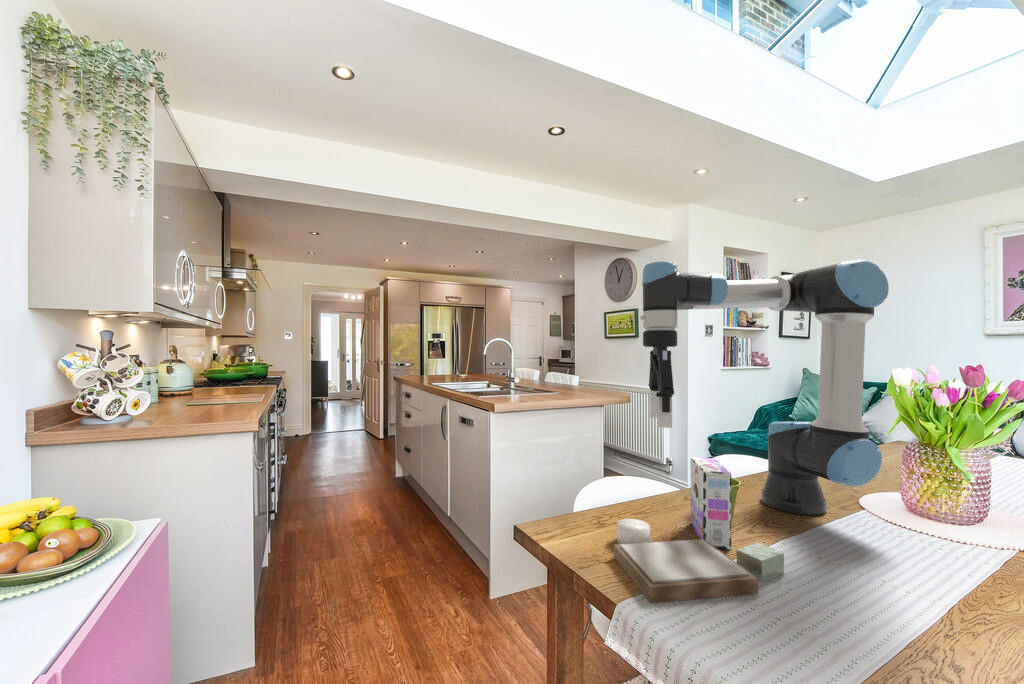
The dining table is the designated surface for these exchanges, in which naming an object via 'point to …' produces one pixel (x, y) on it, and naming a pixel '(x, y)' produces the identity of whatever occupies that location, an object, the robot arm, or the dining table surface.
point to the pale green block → (761, 560)
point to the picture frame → (683, 570)
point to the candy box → (711, 501)
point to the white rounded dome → (632, 531)
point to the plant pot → (734, 493)
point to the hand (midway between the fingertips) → (660, 422)
